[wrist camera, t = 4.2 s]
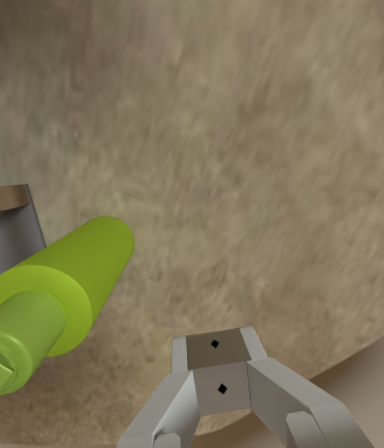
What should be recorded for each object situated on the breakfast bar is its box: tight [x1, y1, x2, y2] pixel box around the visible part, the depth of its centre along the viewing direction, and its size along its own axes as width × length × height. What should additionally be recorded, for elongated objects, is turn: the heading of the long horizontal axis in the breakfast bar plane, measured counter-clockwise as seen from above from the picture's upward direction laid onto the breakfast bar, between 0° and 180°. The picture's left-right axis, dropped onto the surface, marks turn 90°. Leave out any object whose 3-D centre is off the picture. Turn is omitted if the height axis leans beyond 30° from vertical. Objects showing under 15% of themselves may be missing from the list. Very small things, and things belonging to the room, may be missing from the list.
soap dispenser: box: [0, 216, 135, 395], centre depth 16 cm, size 6×7×20 cm
